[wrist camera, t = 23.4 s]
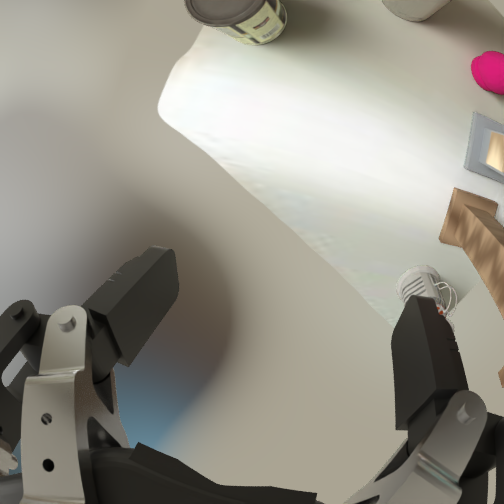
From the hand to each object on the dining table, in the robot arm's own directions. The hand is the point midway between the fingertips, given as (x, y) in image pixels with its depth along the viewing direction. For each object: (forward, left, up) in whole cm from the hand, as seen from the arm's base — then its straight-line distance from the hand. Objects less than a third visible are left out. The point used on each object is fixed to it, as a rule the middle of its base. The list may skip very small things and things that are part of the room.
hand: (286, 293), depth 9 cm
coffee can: (-20, -12, -38) cm, 45 cm away
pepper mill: (-19, +27, -38) cm, 51 cm away
